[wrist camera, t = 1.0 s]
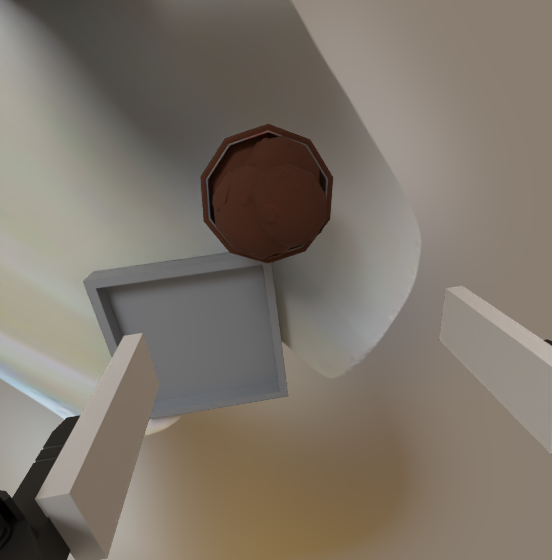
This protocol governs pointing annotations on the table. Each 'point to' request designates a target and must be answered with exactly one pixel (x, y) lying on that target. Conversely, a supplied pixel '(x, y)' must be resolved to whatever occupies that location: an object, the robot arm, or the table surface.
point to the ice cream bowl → (266, 194)
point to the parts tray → (197, 328)
